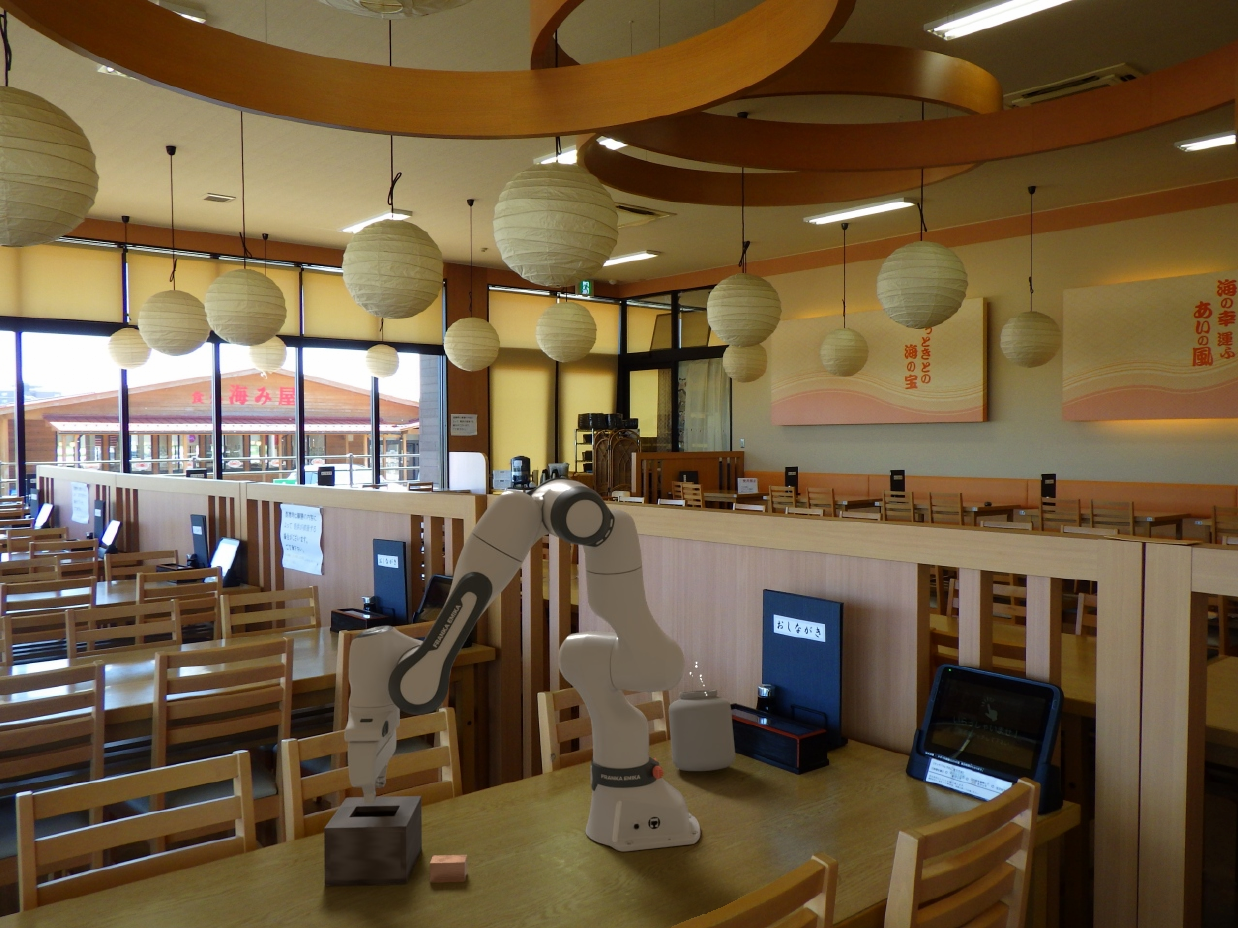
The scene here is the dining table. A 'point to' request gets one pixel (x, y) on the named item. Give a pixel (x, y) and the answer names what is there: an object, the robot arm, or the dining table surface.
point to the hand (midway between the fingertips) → (375, 793)
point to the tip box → (373, 841)
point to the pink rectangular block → (448, 868)
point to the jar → (701, 731)
